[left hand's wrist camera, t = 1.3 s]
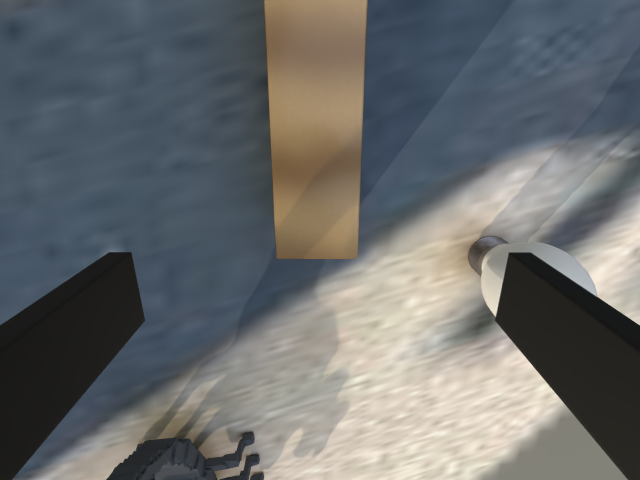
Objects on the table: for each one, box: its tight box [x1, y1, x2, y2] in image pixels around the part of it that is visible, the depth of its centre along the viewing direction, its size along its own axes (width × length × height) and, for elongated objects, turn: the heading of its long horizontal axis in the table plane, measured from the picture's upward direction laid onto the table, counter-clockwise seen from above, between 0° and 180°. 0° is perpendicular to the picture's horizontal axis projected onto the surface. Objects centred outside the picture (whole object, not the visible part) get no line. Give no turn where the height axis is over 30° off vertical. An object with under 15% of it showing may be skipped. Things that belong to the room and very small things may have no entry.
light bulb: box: [468, 236, 597, 317], centre depth 27 cm, size 7×7×11 cm
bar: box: [264, 0, 368, 259], centre depth 23 cm, size 24×5×8 cm, turn 0°
